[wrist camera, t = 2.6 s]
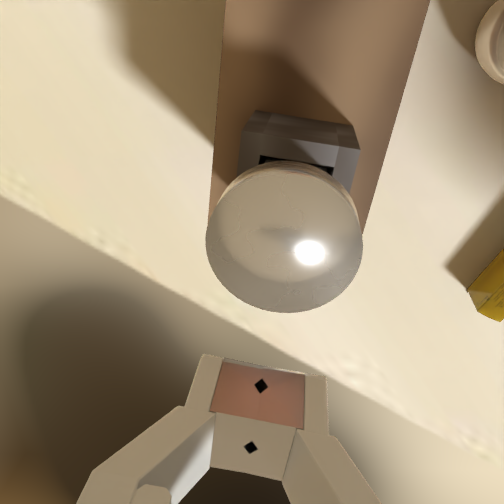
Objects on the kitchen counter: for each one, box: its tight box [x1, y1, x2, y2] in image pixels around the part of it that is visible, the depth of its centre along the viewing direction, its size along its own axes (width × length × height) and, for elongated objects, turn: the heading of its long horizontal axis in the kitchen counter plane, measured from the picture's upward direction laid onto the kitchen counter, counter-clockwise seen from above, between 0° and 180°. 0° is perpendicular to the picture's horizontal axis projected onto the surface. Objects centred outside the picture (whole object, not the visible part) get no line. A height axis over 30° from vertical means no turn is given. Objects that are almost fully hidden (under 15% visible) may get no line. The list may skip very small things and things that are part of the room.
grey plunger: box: [206, 157, 363, 313], centre depth 19 cm, size 6×6×6 cm
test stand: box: [208, 0, 430, 234], centre depth 25 cm, size 10×22×17 cm, turn 173°
